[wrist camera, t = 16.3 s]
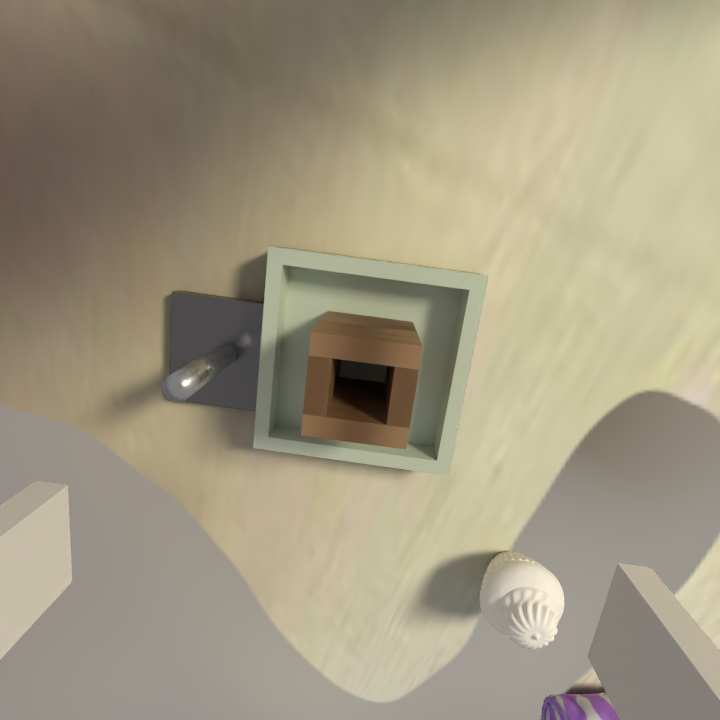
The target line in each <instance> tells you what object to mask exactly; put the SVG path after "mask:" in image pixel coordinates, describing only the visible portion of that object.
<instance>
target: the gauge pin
mask: <svg viewBox="0 0 720 720" xmlns="http://www.w3.org/2000/svg"><path fill="white" fill-rule="evenodd" d="M263 308H264V302H259V301H252V300H245V299H237V298H230V297H223V296H215V295H208V294H201V293H193V292H186V291H179V290H178V291H173V292H172V315H171V358H170V375H169V376H167V377H166V378H165V379H164V380H163V382H162V385H161V389H162V393H163V395H164V396H165V397H166V398H167V399H168V400H170V401H172V402H175V403H179V402H183V401H188V402H195V403H202V404H209V405H217V406H224V407H231V408H238V409H245V410H252V411H256V401H257V388H258V375H259V362H260V348H261V335H262V322H263Z"/></svg>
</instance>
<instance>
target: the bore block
mask: <svg viewBox="0 0 720 720" xmlns="http://www.w3.org/2000/svg"><path fill="white" fill-rule="evenodd" d="M422 350H423V345H422V343H421V340H420V338H419V336H418V333H417V331H416V328H415V326H414V324H413V322H411V321H403V320H395V319H388V318H380V317H372V316H364V315H357V314H349V313H341V312H333V311H328V312H327V313H326V314H325V315H324V316H323V318H322V319H321V320H320V321H319V322H318V324H317V325H316V326H315V327H314V328H313V330H312V331H311V334H310V344H309V355H308V365H307V375H306V386H305V396H304V406H303V417H302V427H301V436H308V437H315V438H323V439H330V440H338V441H345V442H353V443H360V444H368V445H375V446H383V447H390V448H398V449H405V450H406V448H407V442H408V436H409V430H410V423H411V417H412V411H413V405H414V399H415V393H416V387H417V380H418V374H419V368H420V362H421V356H422ZM341 360H348V361H356V362H363V363H371V364H378V365H386V366H388V367H387V374H386V381H385V383H384V382H376V381H369V380H361V379H353V378H346V377H339V373H340V364H341Z"/></svg>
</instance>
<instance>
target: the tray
mask: <svg viewBox="0 0 720 720" xmlns="http://www.w3.org/2000/svg"><path fill="white" fill-rule="evenodd" d="M487 281H488V276H486V275H482V274H478V273H471V272H463V271H456V270H448V269H441V268H434V267H426V266H419V265H411V264H404V263H397V262H389V261H382V260H374V259H367V258H359V257H352V256H345V255H337V254H330V253H322V252H315V251H307V250H300V249H293V248H285V247H268V255H267V269H266V282H265V295H264V308H263V322H262V335H261V348H260V362H259V375H258V388H257V401H256V415H255V428H254V441H253V448H255V449H263V450H270V451H277V452H284V453H291V454H298V455H305V456H312V457H319V458H327V459H334V460H341V461H348V462H355V463H362V464H369V465H376V466H383V467H391V468H398V469H405V470H412V471H419V472H426V473H433V474H440V475H447V476H449V471H450V466H451V461H452V456H453V451H454V446H455V441H456V436H457V431H458V426H459V421H460V416H461V411H462V406H463V401H464V396H465V391H466V386H467V381H468V376H469V371H470V366H471V361H472V356H473V351H474V346H475V341H476V336H477V331H478V326H479V321H480V316H481V311H482V306H483V301H484V296H485V291H486V286H487ZM328 311H333V312H341V313H349V314H357V315H364V316H372V317H380V318H388V319H395V320H403V321H411V322H413V324H414V326H415V328H416V331H417V333H418V336H419V338H420V340H421V343H422V345H423V350H422V356H421V362H420V368H419V374H418V380H417V387H416V393H415V399H414V405H413V411H412V417H411V423H410V430H409V436H408V442H407V448H406V450H405V449H398V448H390V447H383V446H375V445H368V444H360V443H353V442H345V441H338V440H330V439H323V438H315V437H308V436H301V427H302V417H303V406H304V396H305V386H306V375H307V365H308V355H309V344H310V334H311V331H312V330H313V328H314V327H315V326H316V325H317V324H318V322H319V321H320V320H321V319H322V318H323V316H324V315H325V314H326V313H327V312H328ZM387 367H388V366H386V365H378V364H371V363H363V362H356V361H348V360H341V364H340V373H339V377H346V378H353V379H361V380H369V381H376V382H384V383H385V381H386V374H387Z"/></svg>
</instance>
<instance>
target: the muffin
mask: <svg viewBox="0 0 720 720" xmlns="http://www.w3.org/2000/svg"><path fill="white" fill-rule="evenodd" d="M481 584H482V586H481V591H480V607H481V611H482V613H483V615H484V617H485V619H486V620H487V622H488V623H489V624H490V625H491V626H492V627H493V628H494V629H495V630H497V631H498V632H500V633H502V634H504V635H508V636H509V637H510V639H511V640H512V641H513V642H515V643H516V644H517V645H518V646H520V647H522V648H528V649H530V650H533V649H535V648H538V649H541V647H542V646H543V645H544V646H548V642H550V641H553V640H554V635H556V633H557V632H558V630H557V628H556V626H557V625H558V621H559V620H560V618H561V616H562V613H563V610H564V594H563V590H562V587H561V585H560V583H559V581H558V580H557V579H556V577H555V576H554V575H553V574H552V573H551V572H550V571H548V570H547V569H545V567H544V566H542V565H540V564H539V563H538V562H536V561H534V560H532V559H530V558H528V557H526V556H524V555H522V554H520V553H518V552H515V551H513V552H511V551H509V552H507V551H506V552H502V553H499V554H498V555H496V556H495V558H493V559H492V560H491V562H490V564H489V566H488V568H487V570H486V573H485V575H484V577H483V580H482V583H481Z"/></svg>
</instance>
